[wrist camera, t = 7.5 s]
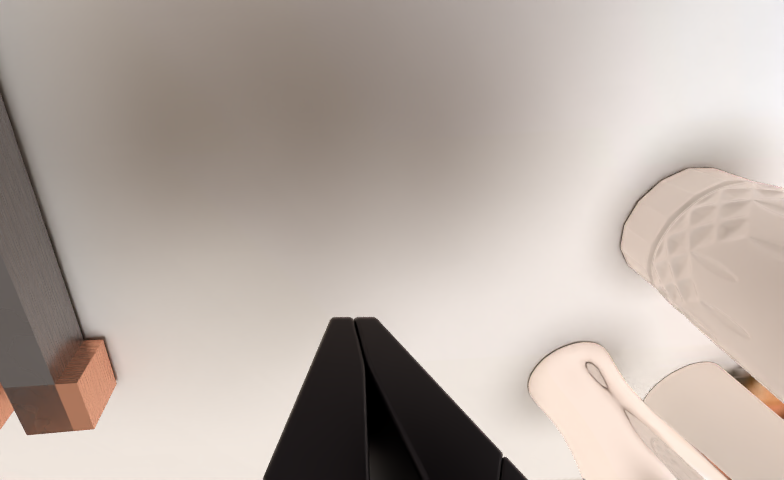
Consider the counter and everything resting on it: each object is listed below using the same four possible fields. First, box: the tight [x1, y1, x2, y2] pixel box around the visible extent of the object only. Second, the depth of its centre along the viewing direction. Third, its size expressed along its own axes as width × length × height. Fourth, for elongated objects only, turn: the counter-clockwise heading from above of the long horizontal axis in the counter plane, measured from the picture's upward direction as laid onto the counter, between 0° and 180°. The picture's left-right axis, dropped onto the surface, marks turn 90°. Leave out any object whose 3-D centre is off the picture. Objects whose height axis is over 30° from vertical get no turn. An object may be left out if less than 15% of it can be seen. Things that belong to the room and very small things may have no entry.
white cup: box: [621, 168, 784, 403], centre depth 19 cm, size 8×8×10 cm
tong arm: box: [0, 94, 116, 435], centre depth 14 cm, size 19×3×3 cm, turn 173°
